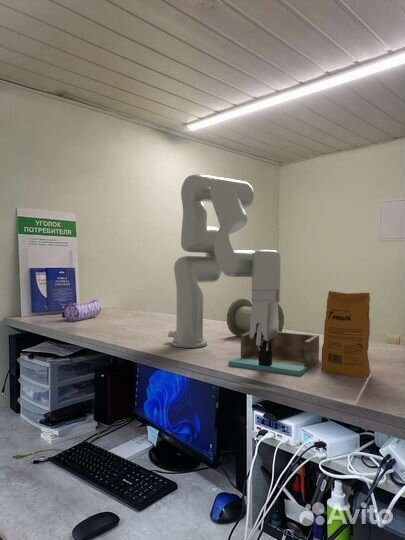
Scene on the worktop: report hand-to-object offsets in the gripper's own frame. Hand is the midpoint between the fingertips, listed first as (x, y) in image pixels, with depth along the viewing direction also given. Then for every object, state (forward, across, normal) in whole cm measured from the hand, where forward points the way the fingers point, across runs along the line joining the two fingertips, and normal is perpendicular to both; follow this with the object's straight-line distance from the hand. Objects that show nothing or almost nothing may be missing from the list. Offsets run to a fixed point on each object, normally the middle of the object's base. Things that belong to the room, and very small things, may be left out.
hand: (265, 364), depth 107 cm
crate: (+2, -13, 0) cm, 13 cm away
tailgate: (+1, -6, 0) cm, 7 cm away
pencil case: (+1, -49, -117) cm, 127 cm away
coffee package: (+2, -10, +19) cm, 21 cm away
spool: (+2, -46, -21) cm, 51 cm away
